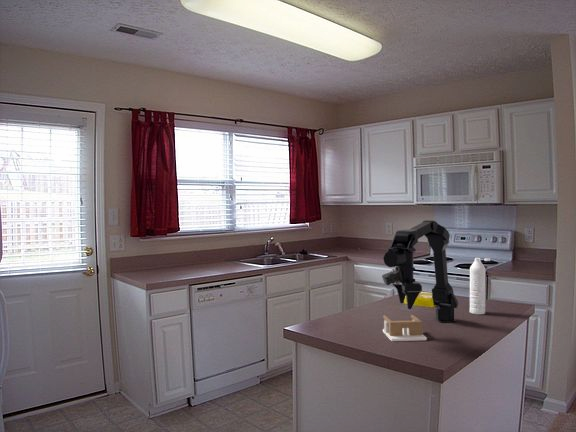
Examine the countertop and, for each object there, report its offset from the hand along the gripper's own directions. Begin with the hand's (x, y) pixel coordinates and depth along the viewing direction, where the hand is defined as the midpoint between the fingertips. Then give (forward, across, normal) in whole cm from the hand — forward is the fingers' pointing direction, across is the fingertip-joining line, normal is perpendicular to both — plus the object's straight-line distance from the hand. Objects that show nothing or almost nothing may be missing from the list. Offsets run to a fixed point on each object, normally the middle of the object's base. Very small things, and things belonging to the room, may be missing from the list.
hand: (405, 306), depth 162 cm
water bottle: (+12, -31, +44) cm, 55 cm away
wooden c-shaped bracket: (+11, -4, 0) cm, 12 cm away
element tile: (+12, -54, +26) cm, 61 cm away
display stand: (+12, -2, 0) cm, 12 cm away
